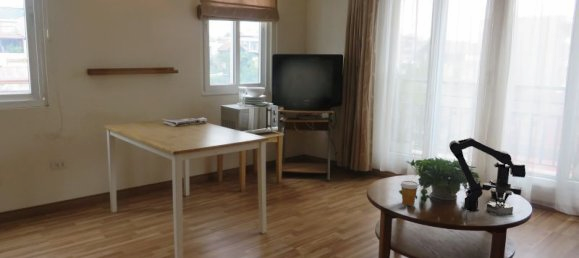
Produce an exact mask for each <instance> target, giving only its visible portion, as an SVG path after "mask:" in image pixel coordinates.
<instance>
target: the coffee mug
mask: <svg viewBox="0 0 579 258" xmlns="http://www.w3.org/2000/svg"><path fill="white" fill-rule="evenodd" d="M496 180H497V179H491V180H489V181H488V183H491V185H493V186H496ZM490 194H491V195H490V196H491V199H493V200H495V197H494V195H493V193H492V192H491V191H490ZM504 197H505V193H501V192H497V198H503V199H504Z"/></svg>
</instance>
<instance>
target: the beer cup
mask: <svg viewBox="0 0 579 258" xmlns="http://www.w3.org/2000/svg"><path fill="white" fill-rule="evenodd" d="M418 184H419V183H418V182H416V181H412V180H403V181H401V183H400V187H401V198H402V199H401V200H402V204H403V205H404V206H409V207H410V206H415V202H416V201H415V200H416V198H417V197H416V196H417V191H418V188H419V185H418Z"/></svg>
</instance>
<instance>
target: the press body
mask: <svg viewBox="0 0 579 258" xmlns="http://www.w3.org/2000/svg"><path fill="white" fill-rule="evenodd" d="M485 210H486V211H487V212H489V213H491V214H494V215H496V216H497V217H500V216H508V215H510V216H511V215H513V210H514V206H511V205H510V204H507V203H505V204H504V205H503V202H501V206H499V202H498V201H497V204H496V201H492V200H490V201H488V202H486V209H485Z"/></svg>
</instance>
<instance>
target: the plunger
mask: <svg viewBox="0 0 579 258" xmlns="http://www.w3.org/2000/svg"><path fill="white" fill-rule="evenodd" d="M503 201H504V197H503V198H497V202H499V206H501V202H502V203H503Z"/></svg>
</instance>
